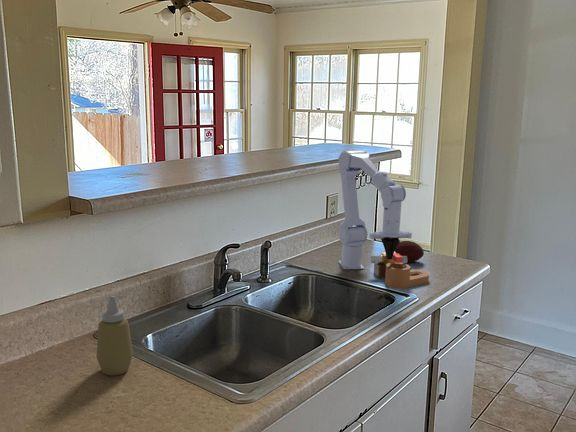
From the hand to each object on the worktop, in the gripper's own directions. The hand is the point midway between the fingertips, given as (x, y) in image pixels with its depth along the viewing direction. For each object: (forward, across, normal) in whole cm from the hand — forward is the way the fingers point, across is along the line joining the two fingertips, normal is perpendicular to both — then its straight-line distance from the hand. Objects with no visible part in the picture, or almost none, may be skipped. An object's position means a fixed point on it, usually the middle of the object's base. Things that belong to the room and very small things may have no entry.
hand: (388, 258), depth 190 cm
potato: (+9, +17, +25) cm, 32 cm away
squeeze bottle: (+9, -85, -51) cm, 100 cm away
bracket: (+10, +8, +1) cm, 12 cm away
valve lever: (+1, +3, +4) cm, 5 cm away
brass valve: (+9, +3, +9) cm, 13 cm away
